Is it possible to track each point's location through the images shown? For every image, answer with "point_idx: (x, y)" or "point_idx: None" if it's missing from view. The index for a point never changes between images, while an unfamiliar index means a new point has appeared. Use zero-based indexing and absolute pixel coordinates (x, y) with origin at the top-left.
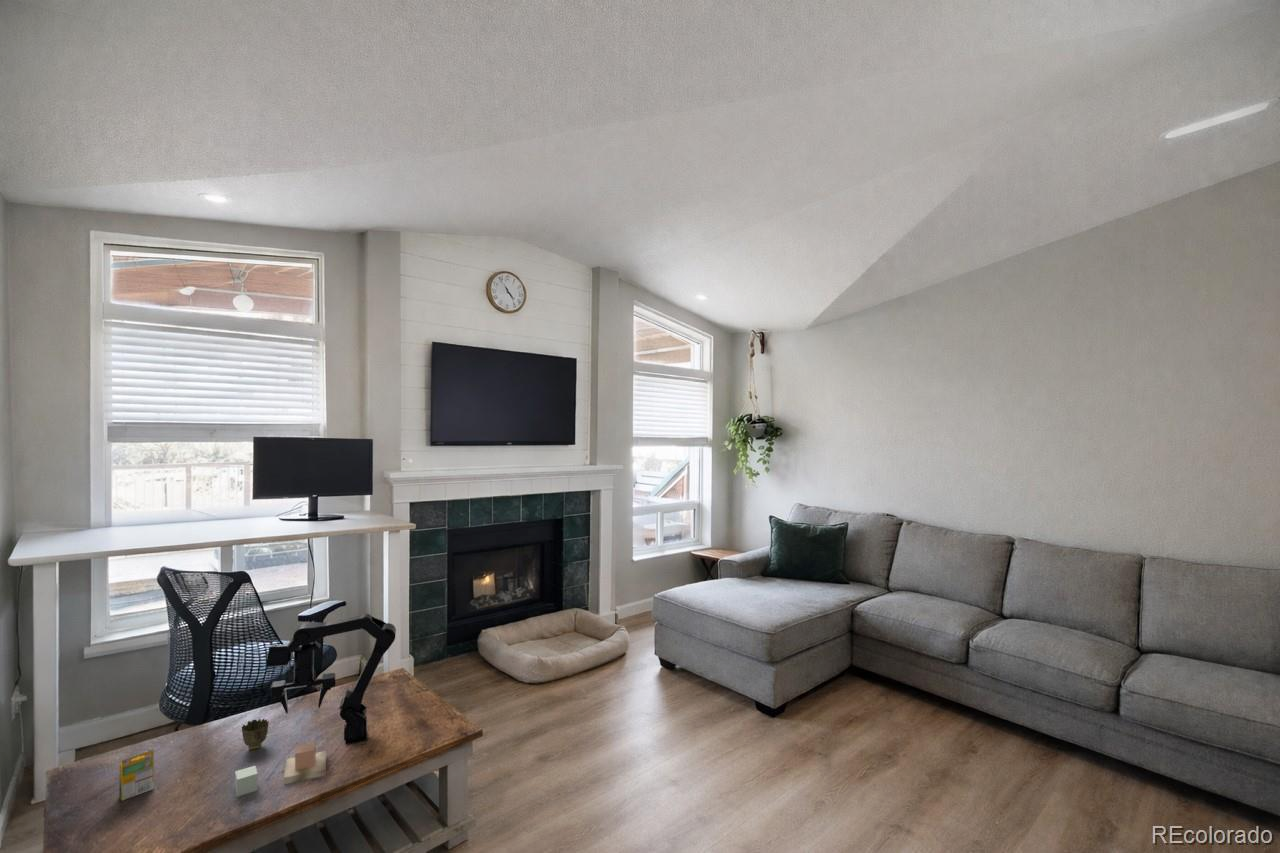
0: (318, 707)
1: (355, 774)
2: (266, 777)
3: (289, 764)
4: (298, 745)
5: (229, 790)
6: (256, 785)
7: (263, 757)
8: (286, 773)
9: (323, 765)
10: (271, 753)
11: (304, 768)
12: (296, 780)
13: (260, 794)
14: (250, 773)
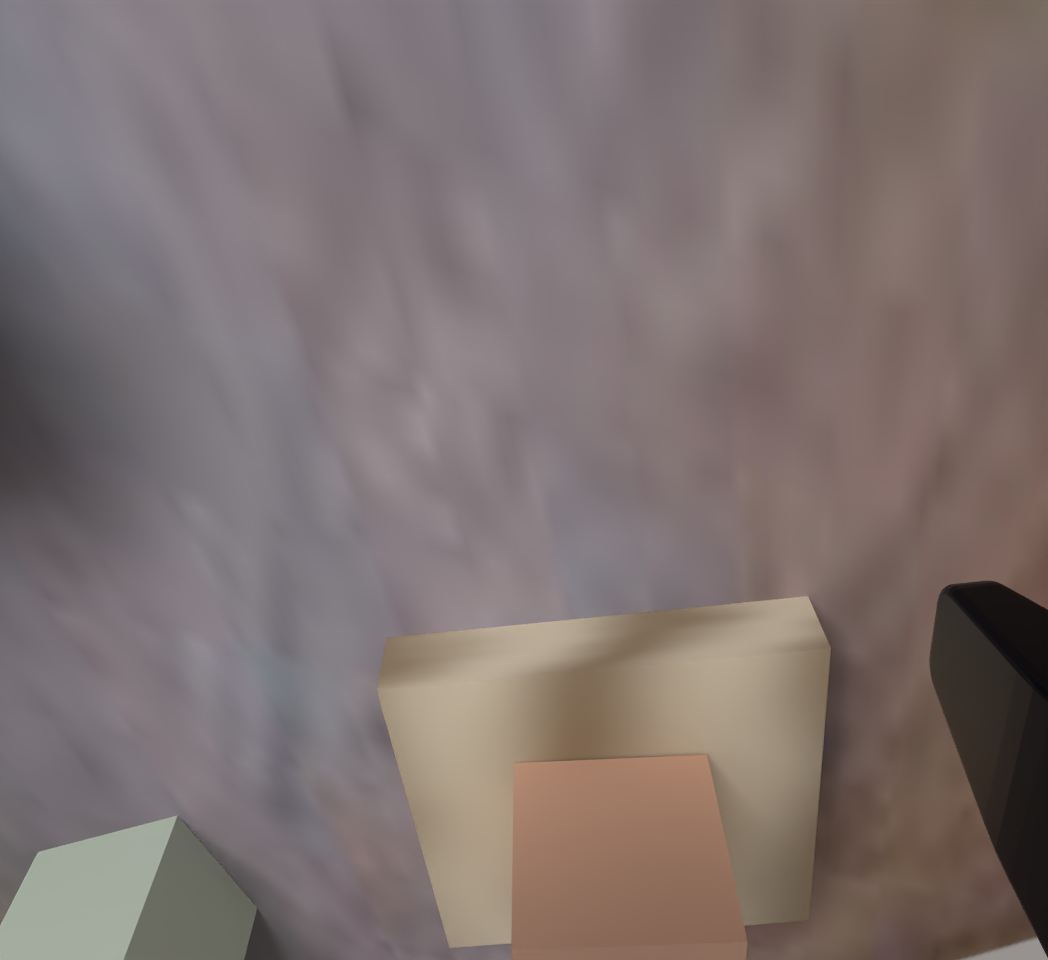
0: (941, 704)
1: None
2: (256, 781)
3: (442, 793)
4: (528, 955)
5: (8, 868)
6: (239, 951)
7: (9, 409)
8: (455, 904)
9: (790, 877)
10: (70, 332)
11: None
12: None
13: (308, 951)
14: None
